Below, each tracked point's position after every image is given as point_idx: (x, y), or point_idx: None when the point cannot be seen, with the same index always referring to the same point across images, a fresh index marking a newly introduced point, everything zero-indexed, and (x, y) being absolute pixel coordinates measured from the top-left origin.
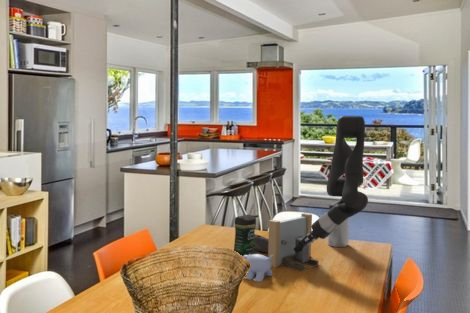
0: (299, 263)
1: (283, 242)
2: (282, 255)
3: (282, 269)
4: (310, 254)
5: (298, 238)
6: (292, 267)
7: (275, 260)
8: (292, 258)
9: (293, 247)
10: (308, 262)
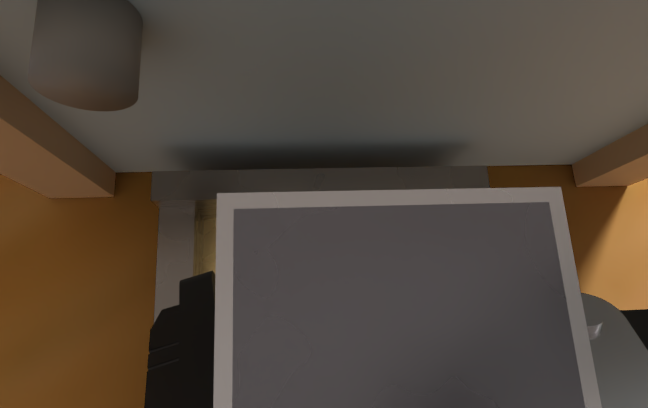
0: None
1: (28, 69)
2: (178, 133)
3: (50, 295)
4: (638, 179)
5: (219, 356)
6: None
7: (8, 174)
8: None
9: (412, 102)
10: None
